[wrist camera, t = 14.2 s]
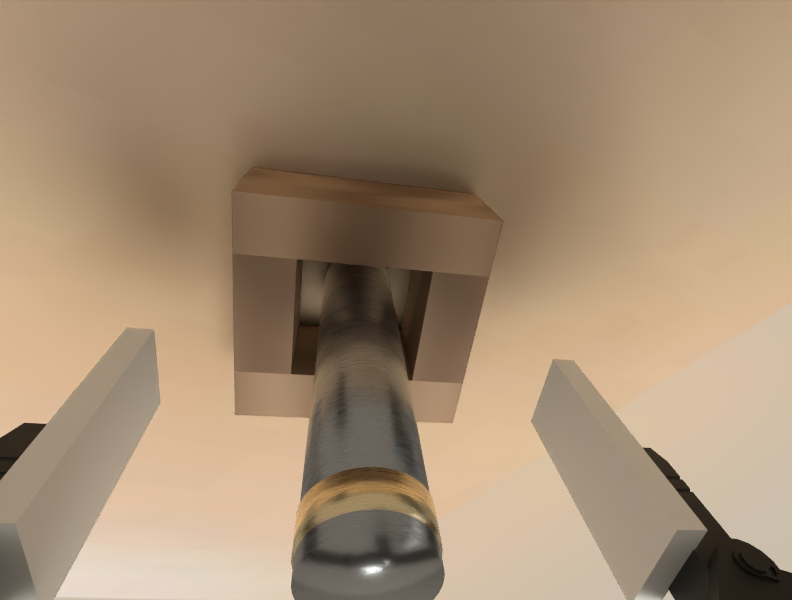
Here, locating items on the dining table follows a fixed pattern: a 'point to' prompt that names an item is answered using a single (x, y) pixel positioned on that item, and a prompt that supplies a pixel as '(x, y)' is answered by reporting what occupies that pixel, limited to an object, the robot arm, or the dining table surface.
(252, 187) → the square wooden frame
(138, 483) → the dining table surface
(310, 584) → the metal cylinder
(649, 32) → the dining table surface
